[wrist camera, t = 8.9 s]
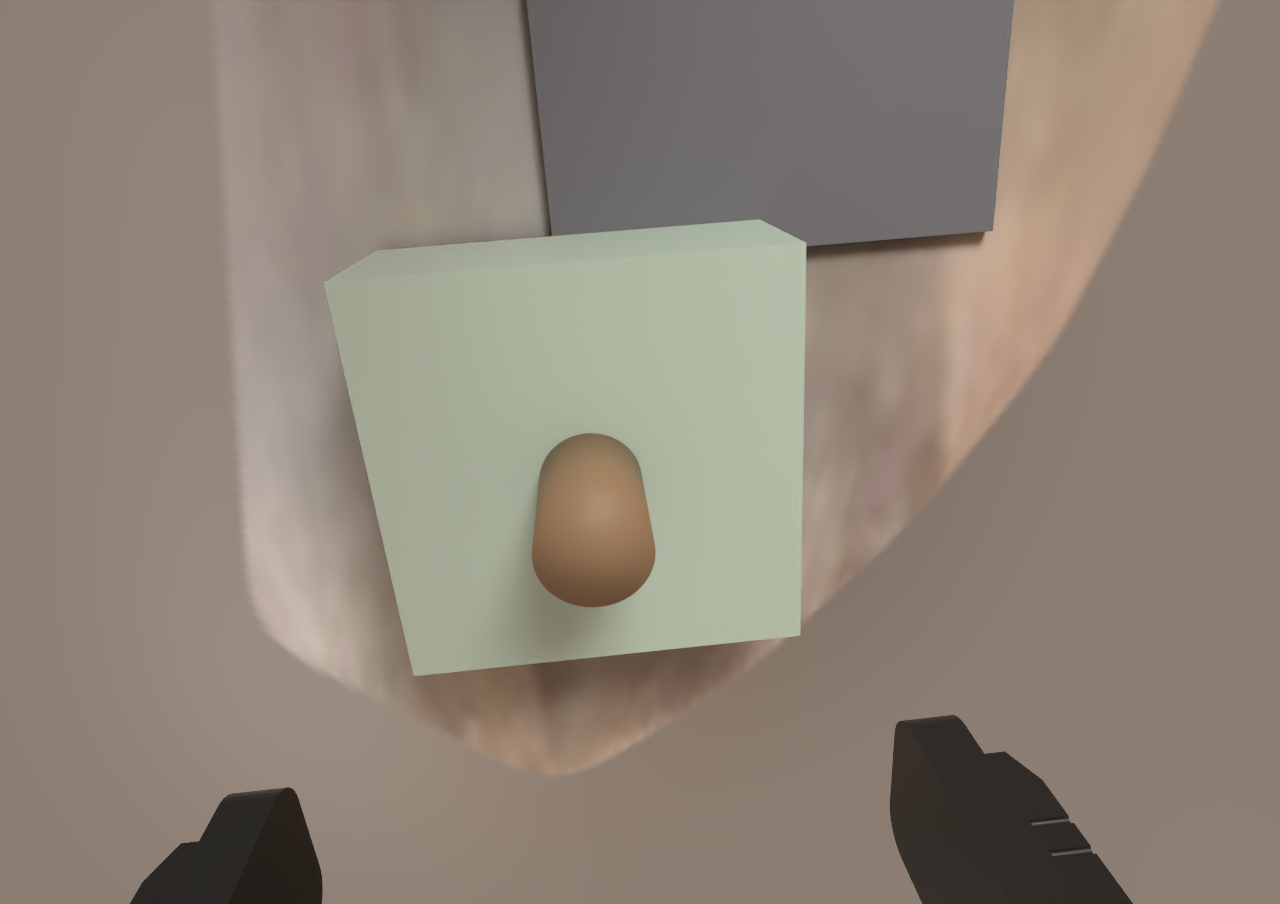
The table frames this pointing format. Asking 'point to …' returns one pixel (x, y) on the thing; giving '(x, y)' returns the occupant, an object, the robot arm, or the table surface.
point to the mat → (772, 114)
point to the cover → (583, 439)
